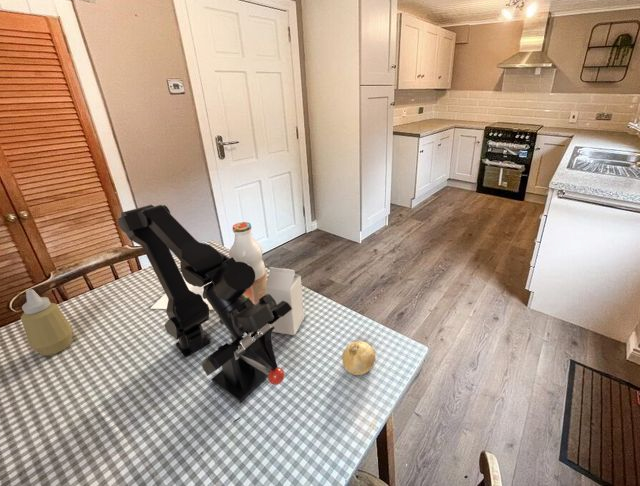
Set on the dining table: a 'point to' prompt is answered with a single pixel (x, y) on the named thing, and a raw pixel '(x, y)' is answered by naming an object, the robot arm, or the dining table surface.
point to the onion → (358, 358)
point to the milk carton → (286, 298)
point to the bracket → (238, 378)
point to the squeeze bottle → (45, 325)
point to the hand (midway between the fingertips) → (275, 369)
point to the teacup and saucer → (163, 300)
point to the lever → (265, 370)
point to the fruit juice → (249, 259)
